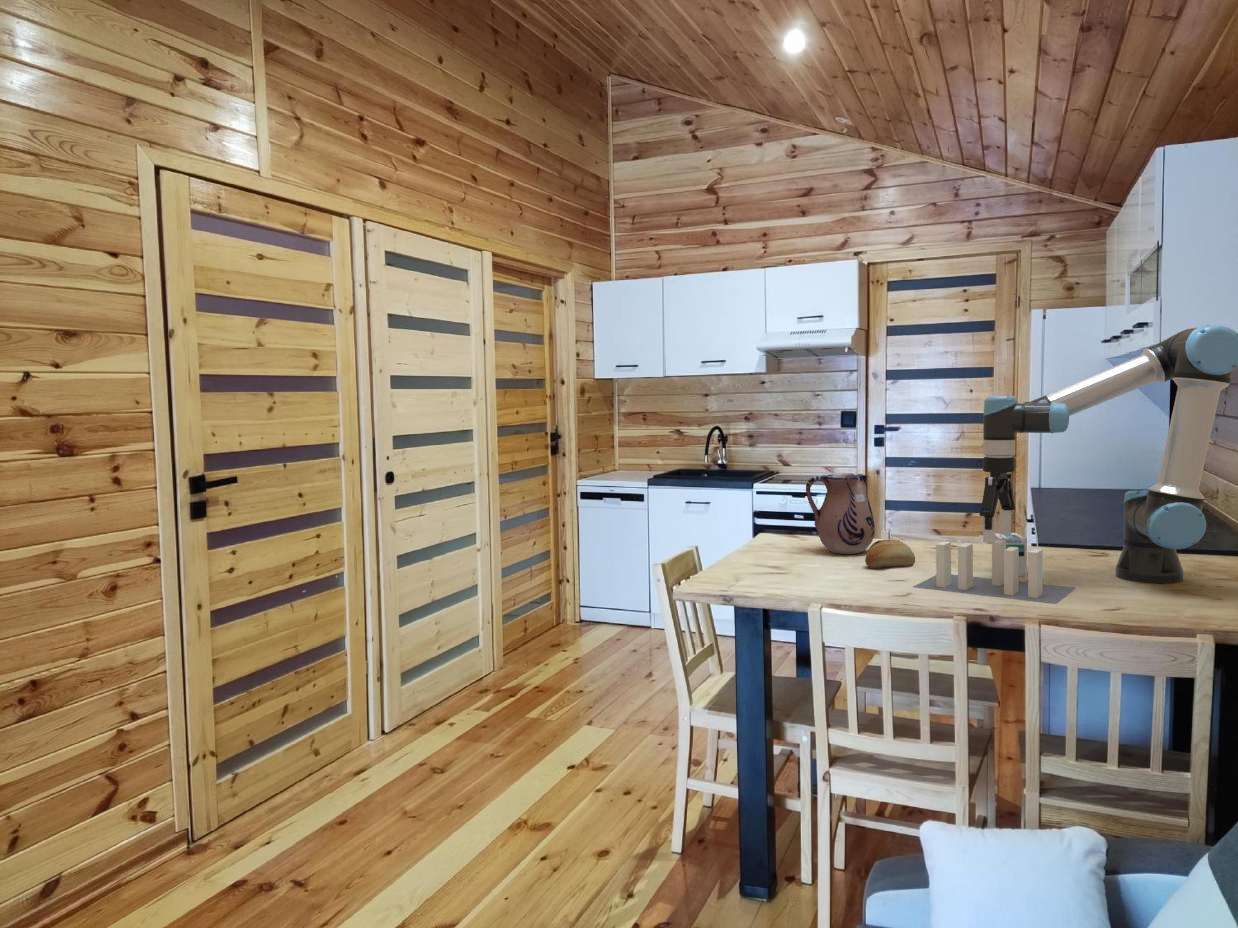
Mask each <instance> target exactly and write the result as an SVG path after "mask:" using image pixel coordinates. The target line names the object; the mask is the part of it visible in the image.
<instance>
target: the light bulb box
mask: <svg viewBox="0 0 1238 928" xmlns="http://www.w3.org/2000/svg"><path fill="white" fill-rule="evenodd" d="M997 540H1006V549H1007V548H1009V547H1017V548H1019V577H1028V552H1027V549H1028V545H1027V543H1028V541H1027V538H1026V537H1024V536H1022V535H1020V534H1019V533H1017V532H1011V535H1000V532H995V541H997Z"/></svg>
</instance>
